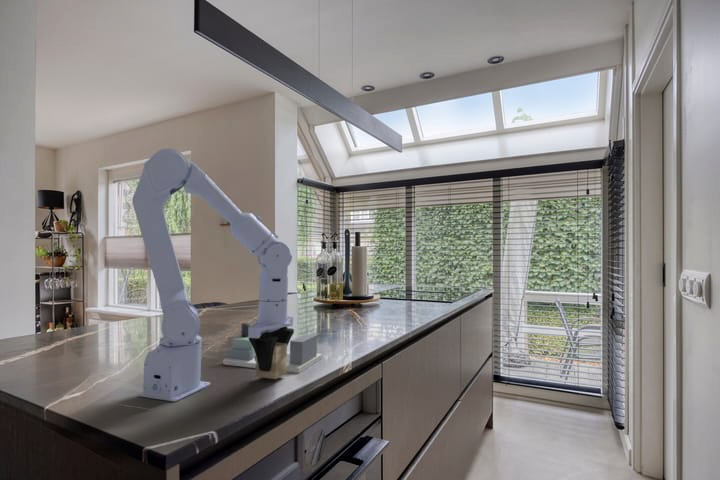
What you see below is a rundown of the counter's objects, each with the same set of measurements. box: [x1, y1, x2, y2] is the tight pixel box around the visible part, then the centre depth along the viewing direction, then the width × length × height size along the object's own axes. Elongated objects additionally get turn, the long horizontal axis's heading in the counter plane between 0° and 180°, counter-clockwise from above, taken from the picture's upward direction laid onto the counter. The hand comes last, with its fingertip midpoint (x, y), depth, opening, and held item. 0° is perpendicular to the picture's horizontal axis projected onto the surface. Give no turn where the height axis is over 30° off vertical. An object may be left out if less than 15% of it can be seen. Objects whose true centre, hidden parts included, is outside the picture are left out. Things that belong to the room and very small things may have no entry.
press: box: [222, 334, 323, 374], centre depth 94 cm, size 13×19×6 cm
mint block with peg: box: [232, 322, 256, 358], centre depth 96 cm, size 7×5×7 cm
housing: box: [255, 342, 288, 380], centre depth 81 cm, size 4×6×6 cm
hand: (271, 367), depth 81 cm, fingers closed on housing, 4 cm apart
